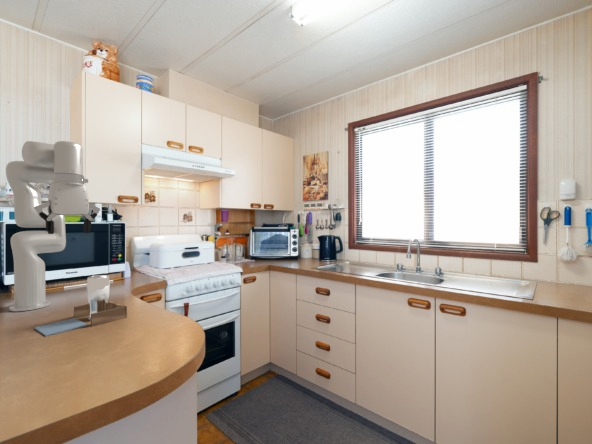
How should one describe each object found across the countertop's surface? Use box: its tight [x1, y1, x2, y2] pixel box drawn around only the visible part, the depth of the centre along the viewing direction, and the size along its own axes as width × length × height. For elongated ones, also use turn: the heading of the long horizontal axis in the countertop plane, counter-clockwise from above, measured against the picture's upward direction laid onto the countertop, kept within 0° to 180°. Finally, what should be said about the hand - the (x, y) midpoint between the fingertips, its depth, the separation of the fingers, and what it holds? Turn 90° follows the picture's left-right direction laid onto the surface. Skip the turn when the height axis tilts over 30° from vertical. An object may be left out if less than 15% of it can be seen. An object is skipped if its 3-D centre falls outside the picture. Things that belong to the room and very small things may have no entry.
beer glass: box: [86, 274, 111, 322], centre depth 105 cm, size 7×7×15 cm
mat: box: [33, 317, 89, 337], centre depth 96 cm, size 12×11×1 cm
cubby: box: [73, 299, 128, 327], centre depth 106 cm, size 16×11×4 cm
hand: (69, 233), depth 94 cm, fingers open, 9 cm apart
